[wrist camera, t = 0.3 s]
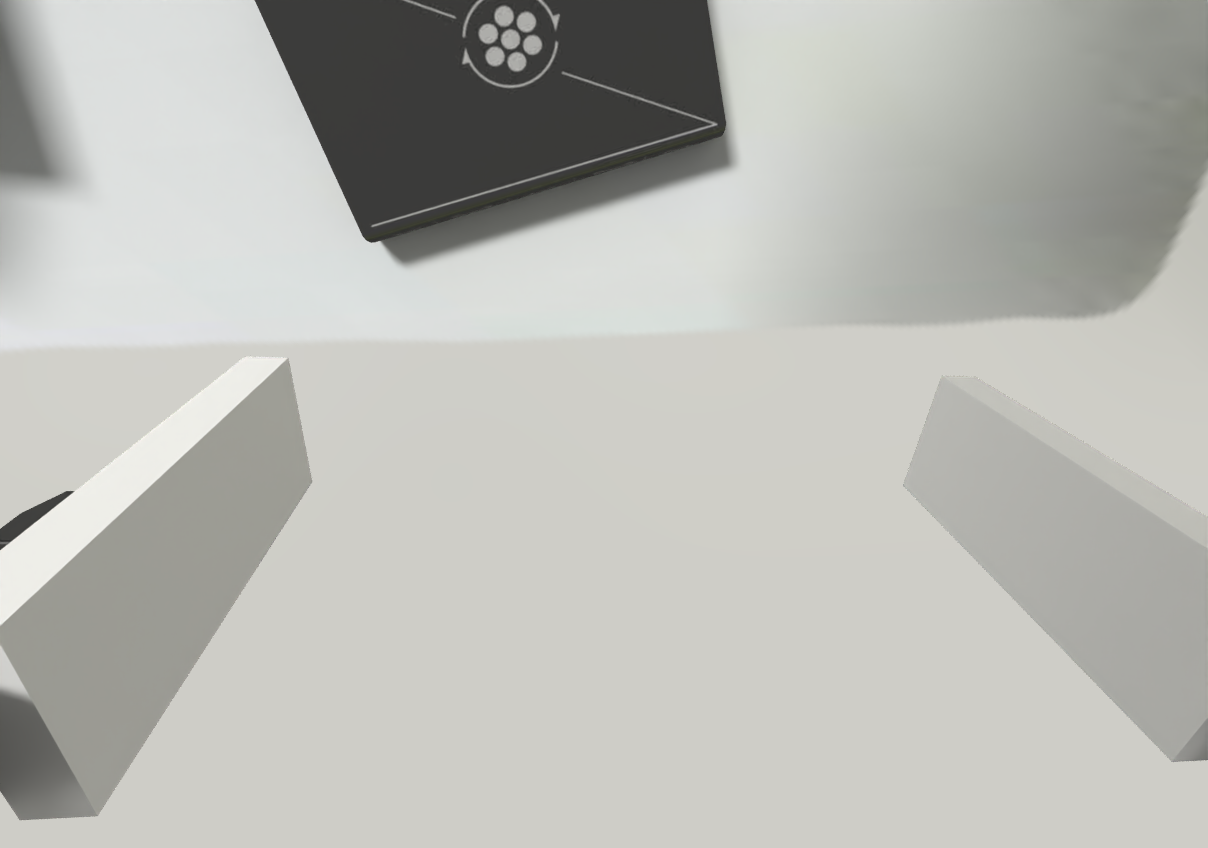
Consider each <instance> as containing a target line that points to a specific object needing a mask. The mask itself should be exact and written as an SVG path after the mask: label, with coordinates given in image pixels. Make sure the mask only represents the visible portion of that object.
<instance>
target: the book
mask: <svg viewBox="0 0 1208 848" xmlns="http://www.w3.org/2000/svg"><path fill="white" fill-rule="evenodd" d="M255 2H256V4H257V6H258V8H259V11H260V13H261V15H262V17H263V19H264V21H265V24H266V26H267V28H268V30H269V32H270V35H271V37H272V39H273V41H274V43H275V46H276V48H277V50H278V52H279V54H280V56H281V59H282V61H283V63H284V65H285V67H286V70H287V72H288V74H289V76H290V78H291V80H292V83H293V85H294V87H295V89H296V91H297V94H298V96H299V98H300V100H301V102H302V105H303V107H304V109H305V111H306V113H307V115H308V118H309V120H310V122H311V124H312V126H313V129H314V131H315V133H316V135H317V137H318V139H319V142H320V144H321V146H322V148H323V150H324V153H325V155H326V157H327V159H328V161H329V164H330V166H331V168H332V170H333V172H334V174H335V177H336V179H337V181H338V183H339V185H340V188H341V190H342V192H343V194H344V196H345V198H346V201H347V203H348V205H349V207H350V209H351V212H352V214H353V216H354V218H355V220H356V223H357V225H358V227H359V229H360V231H361V233H362V236H363V237H364V238H365V239H366V240H367V241H369V242H371V243H372V242H378V241H381V240H384V239H387V238H391V237H394V236H397V235H400V234H404V233H407V232H410V231H413V230H417V229H420V228H423V227H426V226H430V225H433V224H436V223H440V222H443V221H446V220H449V219H453V218H456V217H459V216H462V215H466V214H469V213H472V212H475V211H479V210H482V209H485V208H488V207H492V206H495V205H498V204H501V203H505V202H508V201H511V200H515V199H518V198H521V197H524V196H528V195H531V194H534V193H537V192H541V191H544V190H547V189H550V188H554V187H557V186H560V185H563V184H567V183H570V182H573V181H576V180H580V179H583V178H586V177H590V176H593V175H596V174H599V173H603V172H606V171H609V170H612V169H616V168H619V167H622V166H625V165H629V164H632V163H635V162H638V161H642V160H645V159H648V158H651V157H655V156H658V155H661V154H665V153H668V152H671V151H674V150H678V149H681V148H684V147H687V146H691V145H694V144H697V143H700V142H704V141H707V140H710V139H713V138H717V137H720V136H722V135H723V133H724V131H725V126H726V121H725V114H724V108H723V102H722V95H721V89H720V82H719V76H718V69H717V63H716V57H715V50H714V44H713V37H712V31H711V24H710V18H709V11H708V5H707V0H255Z"/></svg>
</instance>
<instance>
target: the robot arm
mask: <svg viewBox="0 0 1208 848" xmlns="http://www.w3.org/2000/svg"><path fill="white" fill-rule="evenodd" d="M311 483H312V478H311V473H310V468H309V463H308V457H307V452H306V447H305V442H304V437H303V431H302V426H301V421H300V416H299V411H298V406H297V401H296V395H295V390H294V385H293V380H292V374H291V369H290V364H289V359H288V358H279V357H278V358H277V357H244V358H243V359H241V360H240V361H239V362H237V363H236V364H235V365H234V366H233V367H231V368H230V369H229V370H228V371H226V372H225V373H224V374H222V375H221V376H220V377H219V378H217V379H216V380H215V381H213V382H212V383H211V384H210V385H208V386H207V387H206V388H205V389H203V390H202V391H201V392H200V393H199V394H197V395H196V396H195V397H193V398H192V399H191V400H189V401H188V402H187V403H186V404H184V405H183V406H182V407H181V408H179V409H178V410H177V411H176V412H174V413H173V414H172V415H171V416H169V417H168V418H167V419H166V420H164V421H163V422H162V423H160V424H159V425H158V426H157V427H155V428H154V429H153V430H152V431H150V432H149V433H148V434H147V435H145V436H144V437H143V438H142V439H140V440H139V441H138V442H137V443H135V444H134V445H133V446H131V447H130V448H129V449H128V450H126V451H125V452H124V453H123V454H121V455H120V456H119V457H118V458H116V459H115V460H114V461H112V462H111V463H110V464H109V465H107V466H106V467H105V468H104V469H102V470H101V471H100V472H99V473H97V474H96V475H95V476H94V477H92V478H91V479H90V480H89V481H87V482H86V483H85V484H83V485H82V486H81V487H80V488H78V489H77V490H76V491H66V492H64V493H62V494H60V495H58V496H56V497H54V498H52V499H50V500H47V501H45V502H43V503H41V504H39V505H37V506H35V507H33V508H31V509H29V510H27V511H25V512H23V513H21V514H19V515H18V516H17V517H15V518H14V519H13V520H12V521H10V522H9V523H7V524H6V525H5V526H3V527H2V528H1V529H0V791H1V793H2V794H3V796H4V797H5V799H6V800H7V802H8V803H9V805H10V806H11V808H12V809H13V811H14V812H15V814H16V815H17V816H18V818H19V820H31V819H50V818H71V817H90V816H98V814H99V813H100V811H101V810H102V808H103V807H104V805H105V804H106V802H107V800H108V799H109V797H110V796H111V794H112V792H113V791H114V790H115V788H116V786H117V785H118V783H119V782H120V780H121V779H122V777H123V776H124V774H125V772H126V771H127V769H128V768H129V766H130V765H131V763H132V762H133V760H134V758H135V757H136V755H137V753H138V752H139V751H140V749H141V747H142V746H143V744H144V743H145V741H146V740H147V738H148V737H149V735H150V734H151V732H152V730H153V729H154V727H155V726H156V724H157V722H158V721H159V719H160V718H161V716H162V715H163V713H164V712H165V710H166V709H167V707H168V706H169V704H170V702H171V701H172V699H173V698H174V696H175V694H176V693H177V692H178V690H179V688H180V687H181V685H182V684H183V682H184V681H185V679H186V678H187V676H188V674H189V673H190V671H191V670H192V668H193V667H194V665H195V663H196V662H197V660H198V659H199V657H200V656H201V654H202V653H203V651H204V650H205V648H206V646H207V645H208V643H209V642H210V640H211V639H212V637H213V636H214V634H215V632H216V631H217V629H218V628H219V626H220V625H221V623H222V622H223V620H224V618H225V617H226V615H227V614H228V612H229V611H230V609H231V607H232V606H233V604H234V603H235V601H236V600H237V598H238V596H239V595H240V594H241V592H242V590H243V589H244V587H245V586H246V584H247V583H248V581H249V579H250V578H251V576H252V575H253V573H254V572H255V570H256V568H257V567H258V565H259V564H260V562H261V561H262V559H263V558H264V556H265V555H266V553H267V551H268V550H269V548H270V547H271V545H272V543H273V542H274V540H275V539H276V537H277V536H278V534H279V533H280V531H281V529H282V528H283V527H284V525H285V523H286V522H287V520H288V519H289V517H290V516H291V514H292V512H293V511H294V509H295V508H296V506H297V505H298V503H299V502H300V500H301V499H302V497H303V495H304V494H305V492H306V491H307V489H308V488H309V486H310V484H311ZM903 486H904V487H905V488H906V489H907V490H908V491H909V492H910V493H911V494H912V495H913V496H914V497H915V498H916V499H917V500H918V501H919V502H920V503H921V505H922V506H923V507H924V508H925V509H927V511H928V512H929V513H930V514H931V515H932V516H933V517H934V518H935V519H936V520H937V521H938V522H939V523H940V524H941V525H942V526H943V527H944V528H945V529H946V530H947V531H948V532H949V533H950V534H951V535H952V536H953V537H954V538H955V539H956V540H957V541H958V542H959V543H960V545H961V546H962V547H964V549H965V550H966V551H967V552H969V554H970V555H971V556H972V557H973V558H974V559H975V560H976V561H977V562H978V563H979V564H980V565H981V566H982V567H983V568H984V569H985V570H986V571H987V572H988V573H989V574H990V575H991V576H992V577H993V578H994V579H995V580H996V582H997V583H998V584H1000V586H1001V587H1002V588H1003V589H1004V590H1005V591H1006V592H1007V593H1008V594H1009V595H1010V596H1011V597H1012V598H1013V599H1014V600H1015V601H1016V602H1017V603H1018V604H1019V605H1020V606H1021V607H1022V608H1023V609H1024V610H1025V611H1026V612H1027V613H1028V614H1029V615H1030V616H1031V618H1033V620H1034V621H1036V623H1037V624H1038V625H1039V626H1040V627H1041V628H1042V629H1043V630H1044V631H1045V632H1046V633H1047V634H1048V635H1049V636H1050V637H1051V638H1052V639H1053V640H1054V641H1055V642H1056V643H1057V644H1058V645H1059V646H1060V647H1061V648H1062V649H1063V650H1064V651H1065V652H1066V653H1067V654H1068V656H1069V657H1071V659H1072V660H1073V661H1074V662H1075V663H1076V664H1077V665H1078V666H1079V667H1080V668H1081V669H1082V670H1083V671H1084V672H1085V673H1086V674H1087V675H1088V676H1089V677H1090V678H1091V679H1092V680H1093V681H1094V682H1095V683H1096V684H1097V685H1098V686H1099V687H1100V688H1101V689H1102V690H1103V691H1104V693H1106V695H1107V696H1108V697H1109V698H1110V699H1112V701H1113V702H1114V703H1115V704H1116V705H1117V706H1118V707H1119V708H1120V709H1121V710H1122V711H1123V712H1124V713H1125V714H1126V715H1127V716H1128V717H1129V718H1130V719H1131V720H1132V721H1133V722H1134V723H1135V724H1136V725H1137V726H1138V727H1139V728H1140V729H1141V730H1142V732H1144V733H1145V735H1146V736H1147V737H1148V738H1149V739H1150V740H1151V741H1152V742H1153V743H1154V744H1155V745H1156V746H1157V747H1158V748H1159V749H1160V750H1161V751H1162V752H1163V753H1164V754H1165V755H1166V756H1167V757H1168V758H1169V759H1170V760H1171V761H1172V762H1178V761H1197V760H1208V517H1207V516H1206V515H1204V514H1202V513H1201V512H1199V511H1197V510H1196V509H1194V508H1192V507H1191V506H1189V505H1188V504H1186V503H1184V502H1183V501H1181V500H1179V499H1177V498H1176V497H1174V496H1173V495H1171V494H1169V493H1168V492H1166V491H1164V490H1163V489H1161V488H1159V487H1157V486H1156V485H1154V484H1153V483H1151V482H1149V481H1148V480H1146V479H1144V478H1143V477H1141V476H1139V475H1138V474H1136V473H1134V472H1133V471H1131V470H1129V469H1128V468H1126V467H1124V466H1123V465H1121V464H1119V463H1118V462H1116V461H1114V460H1113V459H1111V458H1109V457H1108V456H1106V455H1104V454H1103V453H1101V452H1099V451H1098V450H1096V449H1094V448H1093V447H1091V446H1089V445H1088V444H1086V443H1084V442H1083V441H1081V440H1079V439H1078V438H1076V437H1075V436H1073V435H1071V434H1070V433H1068V432H1066V431H1064V430H1063V429H1061V428H1060V427H1058V426H1056V425H1054V424H1053V423H1051V422H1049V421H1048V420H1046V419H1045V418H1043V417H1041V416H1039V415H1038V414H1036V413H1035V412H1033V411H1031V410H1030V409H1028V408H1026V407H1025V406H1023V405H1021V404H1020V403H1018V402H1016V401H1015V400H1013V399H1011V398H1010V397H1008V396H1006V395H1005V394H1003V393H1001V392H1000V391H998V390H996V389H995V388H993V387H991V386H990V385H988V384H986V383H985V382H983V381H981V380H980V379H978V378H976V377H963V376H942V377H941V379H940V382H939V385H938V388H937V391H936V393H935V396H934V399H933V402H932V405H931V408H930V411H929V413H928V416H927V419H926V422H925V425H924V427H923V430H922V433H921V436H920V439H919V442H918V444H917V447H916V450H915V453H914V456H913V458H912V461H911V464H910V467H909V470H908V473H907V476H906V478H905V481H904V484H903Z"/></svg>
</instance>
